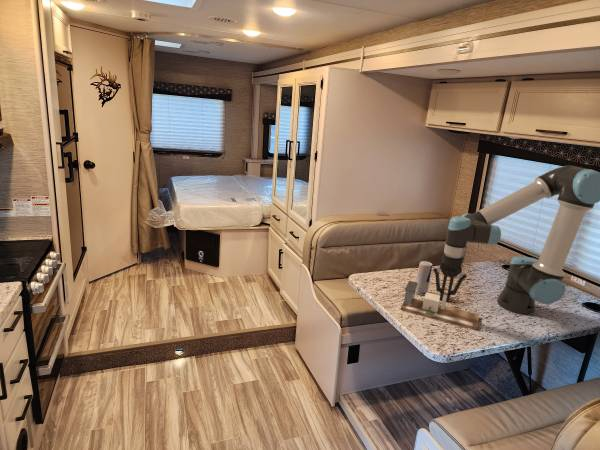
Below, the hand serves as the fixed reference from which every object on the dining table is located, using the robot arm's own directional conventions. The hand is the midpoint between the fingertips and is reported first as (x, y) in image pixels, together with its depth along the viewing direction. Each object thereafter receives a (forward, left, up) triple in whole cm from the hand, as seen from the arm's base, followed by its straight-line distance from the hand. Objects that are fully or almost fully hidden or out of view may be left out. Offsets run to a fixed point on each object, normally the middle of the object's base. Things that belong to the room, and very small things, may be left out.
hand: (442, 307), depth 164 cm
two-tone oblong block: (+14, -1, -2) cm, 14 cm away
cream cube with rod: (+5, +1, -2) cm, 5 cm away
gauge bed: (+1, 0, -3) cm, 3 cm away
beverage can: (+11, -16, -3) cm, 20 cm away
